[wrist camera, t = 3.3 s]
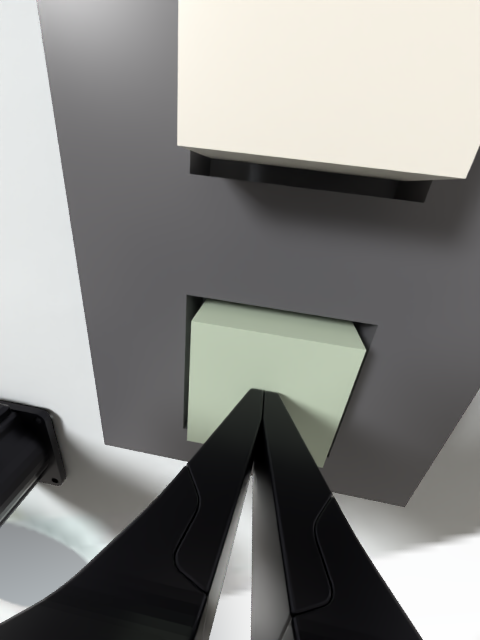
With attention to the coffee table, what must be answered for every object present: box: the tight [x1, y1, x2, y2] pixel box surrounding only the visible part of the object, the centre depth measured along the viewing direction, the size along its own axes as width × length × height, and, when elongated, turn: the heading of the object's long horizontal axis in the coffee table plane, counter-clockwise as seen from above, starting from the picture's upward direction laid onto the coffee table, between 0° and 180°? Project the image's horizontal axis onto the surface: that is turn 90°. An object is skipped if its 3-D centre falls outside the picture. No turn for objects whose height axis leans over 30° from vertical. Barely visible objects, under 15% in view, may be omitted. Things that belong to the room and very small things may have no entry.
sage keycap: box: [187, 298, 366, 468], centre depth 9 cm, size 5×5×2 cm
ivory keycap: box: [177, 0, 480, 181], centre depth 5 cm, size 5×5×2 cm
